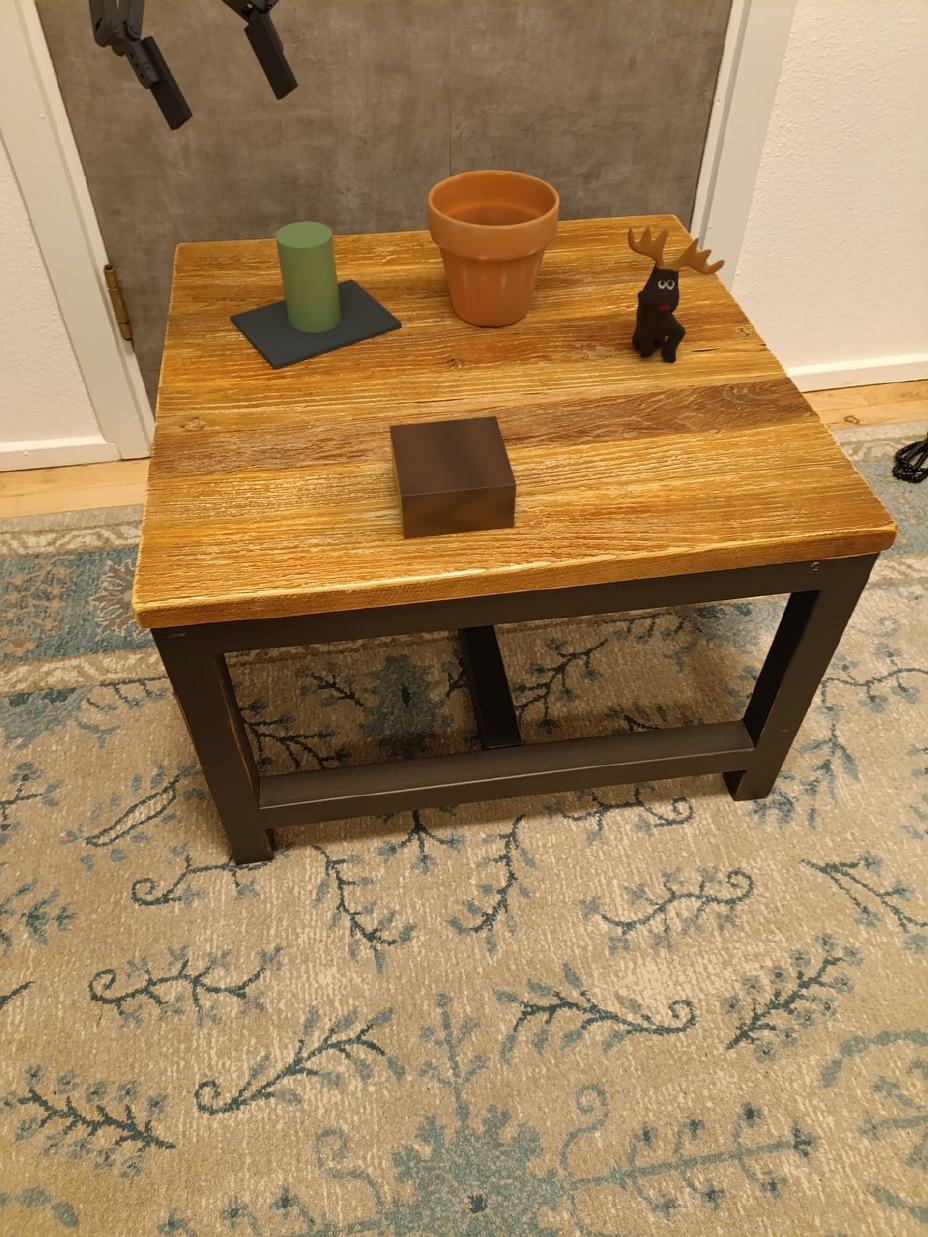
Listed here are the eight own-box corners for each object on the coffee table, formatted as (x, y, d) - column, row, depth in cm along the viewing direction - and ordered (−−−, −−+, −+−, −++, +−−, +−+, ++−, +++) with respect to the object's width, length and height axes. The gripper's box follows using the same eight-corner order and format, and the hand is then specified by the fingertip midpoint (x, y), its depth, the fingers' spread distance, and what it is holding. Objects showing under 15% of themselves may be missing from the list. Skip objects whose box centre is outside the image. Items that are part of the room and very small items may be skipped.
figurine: (612, 371, 97) (631, 236, 86) (604, 336, 102) (622, 203, 90) (709, 371, 97) (741, 236, 86) (697, 335, 102) (726, 202, 90)
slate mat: (274, 370, 97) (273, 365, 97) (230, 320, 104) (229, 316, 103) (401, 327, 103) (401, 322, 102) (352, 283, 109) (352, 278, 109)
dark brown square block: (404, 538, 80) (401, 496, 76) (392, 468, 86) (389, 425, 82) (514, 527, 81) (516, 484, 77) (494, 457, 87) (495, 415, 83)
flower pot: (430, 278, 110) (427, 169, 100) (545, 277, 110) (553, 168, 101) (430, 341, 101) (427, 227, 91) (555, 339, 101) (565, 226, 91)
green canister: (303, 338, 100) (290, 252, 93) (280, 315, 103) (266, 229, 96) (350, 323, 102) (341, 237, 95) (326, 300, 106) (316, 216, 98)
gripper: (196, -133, 85) (304, 99, 93) (-42, -121, 70) (111, 156, 78) (238, -187, 80) (349, 63, 88) (-9, -186, 65) (152, 117, 72)
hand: (238, 107), depth 83 cm, fingers open, 13 cm apart
